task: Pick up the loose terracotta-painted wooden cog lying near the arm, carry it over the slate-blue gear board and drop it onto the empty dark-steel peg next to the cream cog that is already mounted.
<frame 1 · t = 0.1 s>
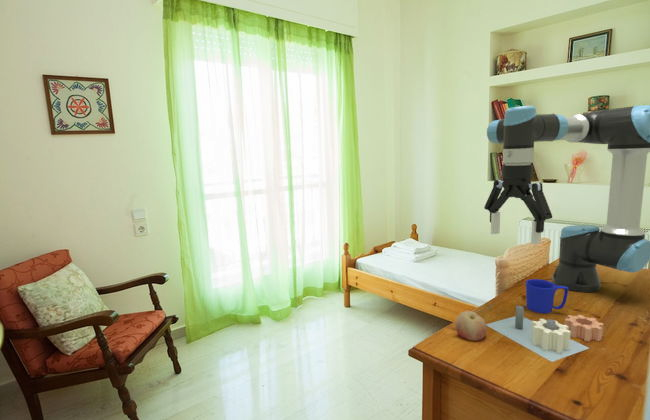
hand: (514, 238, 102), 28 cm above the table, fingers open, 13 cm apart
fruit: (470, 340, 102), on the table
mug: (545, 313, 115), on the table
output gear: (549, 343, 95), resting on gear board
loose gear: (582, 338, 100), on the table
gear board: (533, 340, 100), on the table
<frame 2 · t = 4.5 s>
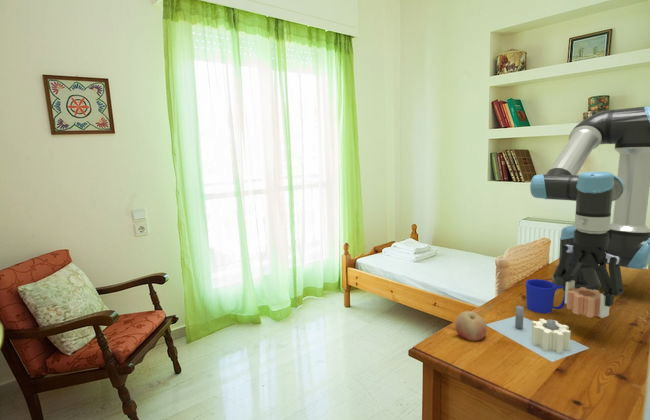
hand: (585, 308, 98), 9 cm above the table, fingers closed on loose gear, 9 cm apart
loose gear: (585, 310, 98), point 8 cm above the table, touching gripper
everything else where it was.
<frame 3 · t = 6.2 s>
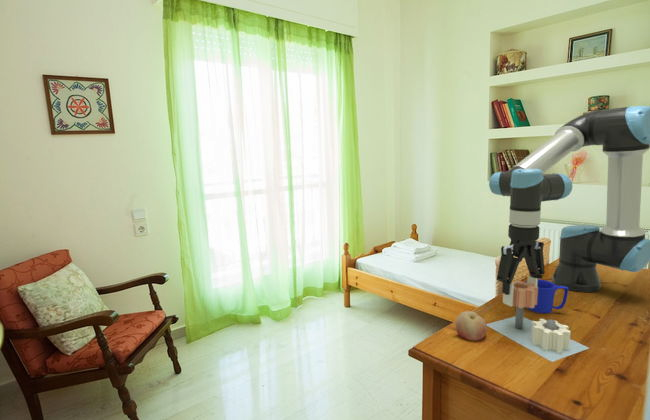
hand: (519, 301, 102), 10 cm above the table, fingers closed on loose gear, 9 cm apart
loose gear: (519, 302, 102), point 10 cm above the table, touching gripper
everything else where it was.
when the fingers open (3 cm above the table, at t = 7.9 s): loose gear drops 1 cm, resting on gear board.
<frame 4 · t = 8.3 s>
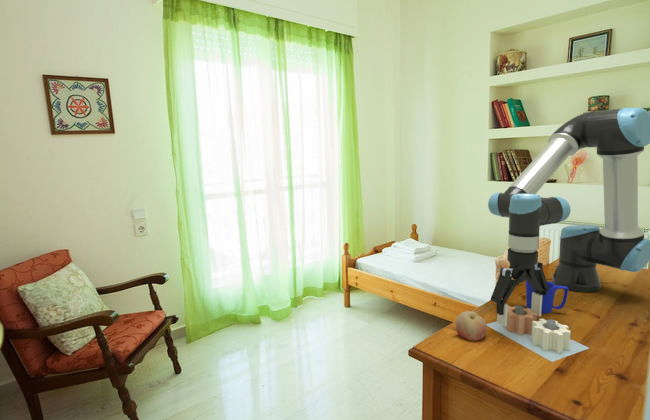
hand: (519, 319, 103), 4 cm above the table, fingers open, 13 cm apart
loose gear: (519, 327, 104), point 1 cm above the table, touching gear board
everything else where it was.
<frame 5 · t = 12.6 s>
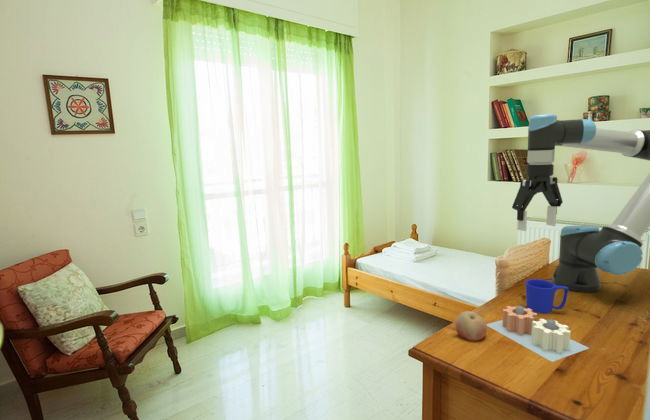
hand: (536, 227, 118), 27 cm above the table, fingers open, 13 cm apart
nothing on the table moved.
at the end: loose gear 0.1 cm from the target spot on the gear board, point 1.5 cm above the gear board's base; the gripper is holding nothing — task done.
